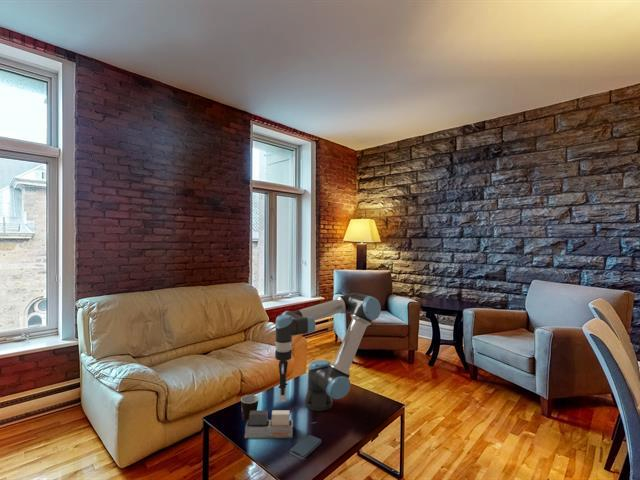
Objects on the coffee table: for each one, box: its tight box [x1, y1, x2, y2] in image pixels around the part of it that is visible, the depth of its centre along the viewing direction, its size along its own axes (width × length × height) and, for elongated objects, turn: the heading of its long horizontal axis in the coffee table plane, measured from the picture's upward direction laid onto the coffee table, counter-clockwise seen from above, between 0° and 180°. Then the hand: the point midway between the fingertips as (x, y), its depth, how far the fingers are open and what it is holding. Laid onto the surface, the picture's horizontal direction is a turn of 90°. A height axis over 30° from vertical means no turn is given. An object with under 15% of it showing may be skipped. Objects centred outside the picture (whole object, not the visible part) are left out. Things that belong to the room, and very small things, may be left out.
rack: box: [244, 410, 294, 439], centre depth 148 cm, size 21×9×9 cm, turn 93°
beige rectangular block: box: [271, 409, 291, 426], centre depth 149 cm, size 8×4×8 cm, turn 93°
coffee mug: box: [240, 394, 260, 423], centre depth 160 cm, size 12×9×10 cm
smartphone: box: [289, 434, 323, 460], centre depth 139 cm, size 8×2×15 cm
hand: (282, 400), depth 149 cm, fingers closed
